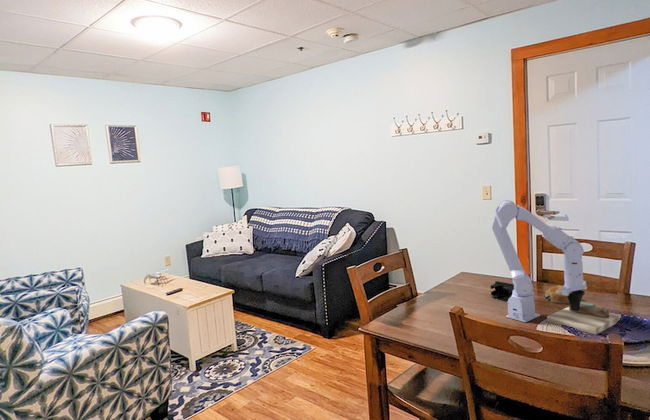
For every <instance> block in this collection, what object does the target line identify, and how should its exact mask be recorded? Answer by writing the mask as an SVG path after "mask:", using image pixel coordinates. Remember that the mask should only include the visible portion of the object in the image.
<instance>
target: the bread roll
mask: <svg viewBox="0 0 650 420" xmlns="http://www.w3.org/2000/svg"><path fill="white" fill-rule="evenodd" d="M563 287H564V285H560V284H558V285H553V286H551V287H549V288H548V289H547V290H546V291H545V294H544V299H545V300H546V301H547V302H550V303H552V304H553V303H554V304H558V305H559V304H561V305H562V304H566V305H568V304H570V302H569V300H568V298H567V296H565V295H562V291H561V290H562V289H563Z"/></svg>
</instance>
